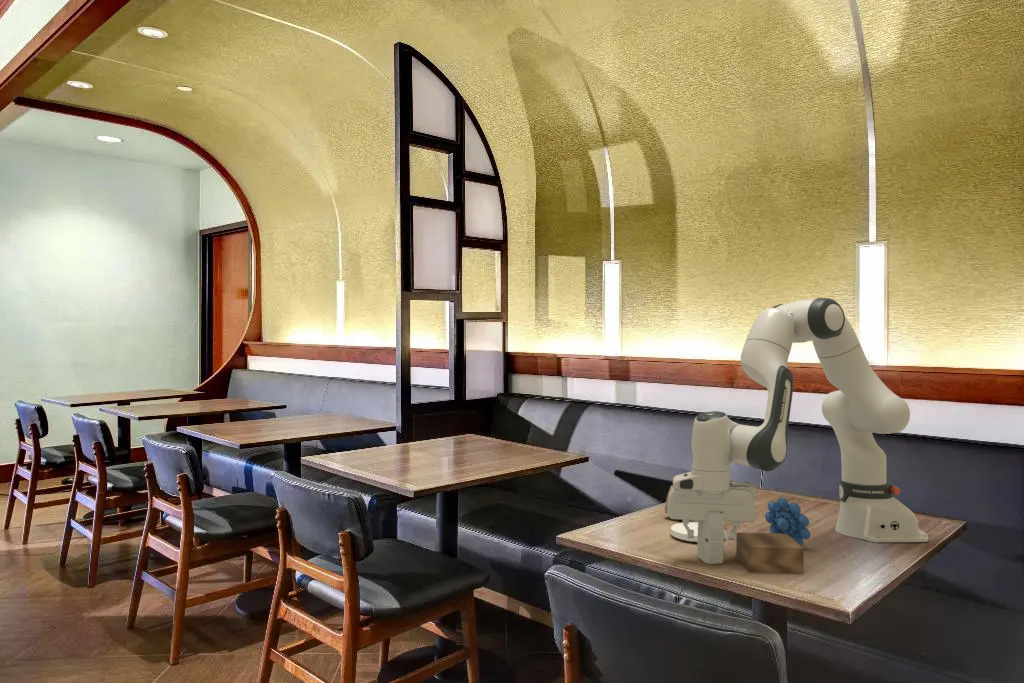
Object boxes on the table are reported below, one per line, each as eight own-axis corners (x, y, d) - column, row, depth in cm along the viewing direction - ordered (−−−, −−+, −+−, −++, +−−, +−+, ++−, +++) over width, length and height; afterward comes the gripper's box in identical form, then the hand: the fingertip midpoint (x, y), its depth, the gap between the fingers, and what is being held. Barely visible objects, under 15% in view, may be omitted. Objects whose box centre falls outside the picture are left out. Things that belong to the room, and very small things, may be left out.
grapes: (757, 544, 185) (757, 497, 185) (769, 539, 190) (769, 493, 190) (802, 554, 177) (802, 505, 177) (813, 548, 182) (814, 500, 182)
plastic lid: (660, 538, 191) (660, 529, 191) (688, 528, 202) (688, 519, 202) (708, 549, 182) (708, 539, 182) (734, 538, 192) (734, 528, 192)
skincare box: (696, 556, 175) (696, 506, 174) (713, 555, 175) (713, 506, 175) (707, 564, 168) (707, 512, 168) (725, 563, 169) (725, 512, 169)
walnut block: (787, 558, 174) (787, 533, 174) (803, 574, 162) (803, 548, 162) (736, 557, 175) (736, 532, 175) (748, 573, 163) (748, 546, 163)
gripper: (754, 479, 173) (754, 537, 173) (667, 476, 177) (667, 533, 177) (758, 484, 167) (758, 544, 167) (668, 481, 170) (668, 540, 170)
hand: (710, 538), depth 172 cm, fingers open, 8 cm apart
